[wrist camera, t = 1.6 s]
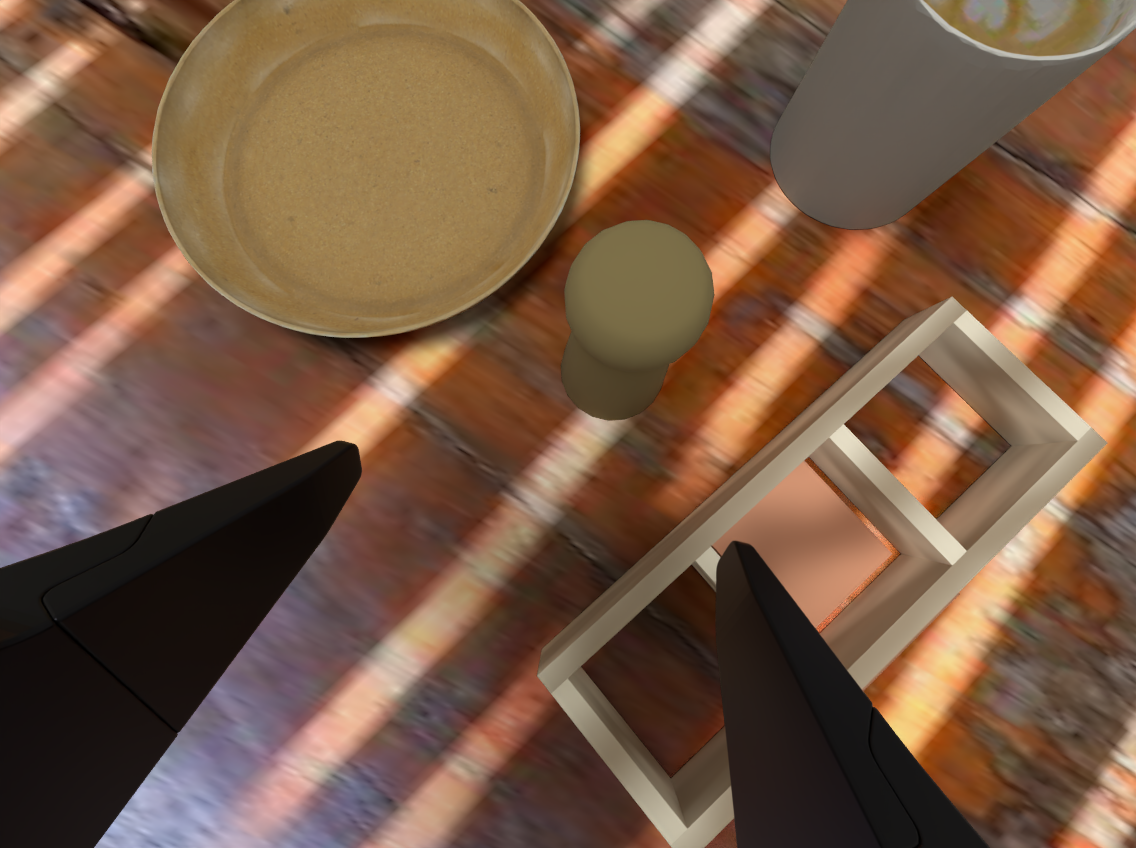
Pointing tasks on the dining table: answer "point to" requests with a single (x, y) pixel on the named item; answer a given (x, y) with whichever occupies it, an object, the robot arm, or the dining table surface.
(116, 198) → the dining table surface
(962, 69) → the coffee mug
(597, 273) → the olive chess pawn
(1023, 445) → the rack
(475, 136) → the plant saucer
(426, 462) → the dining table surface
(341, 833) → the dining table surface
